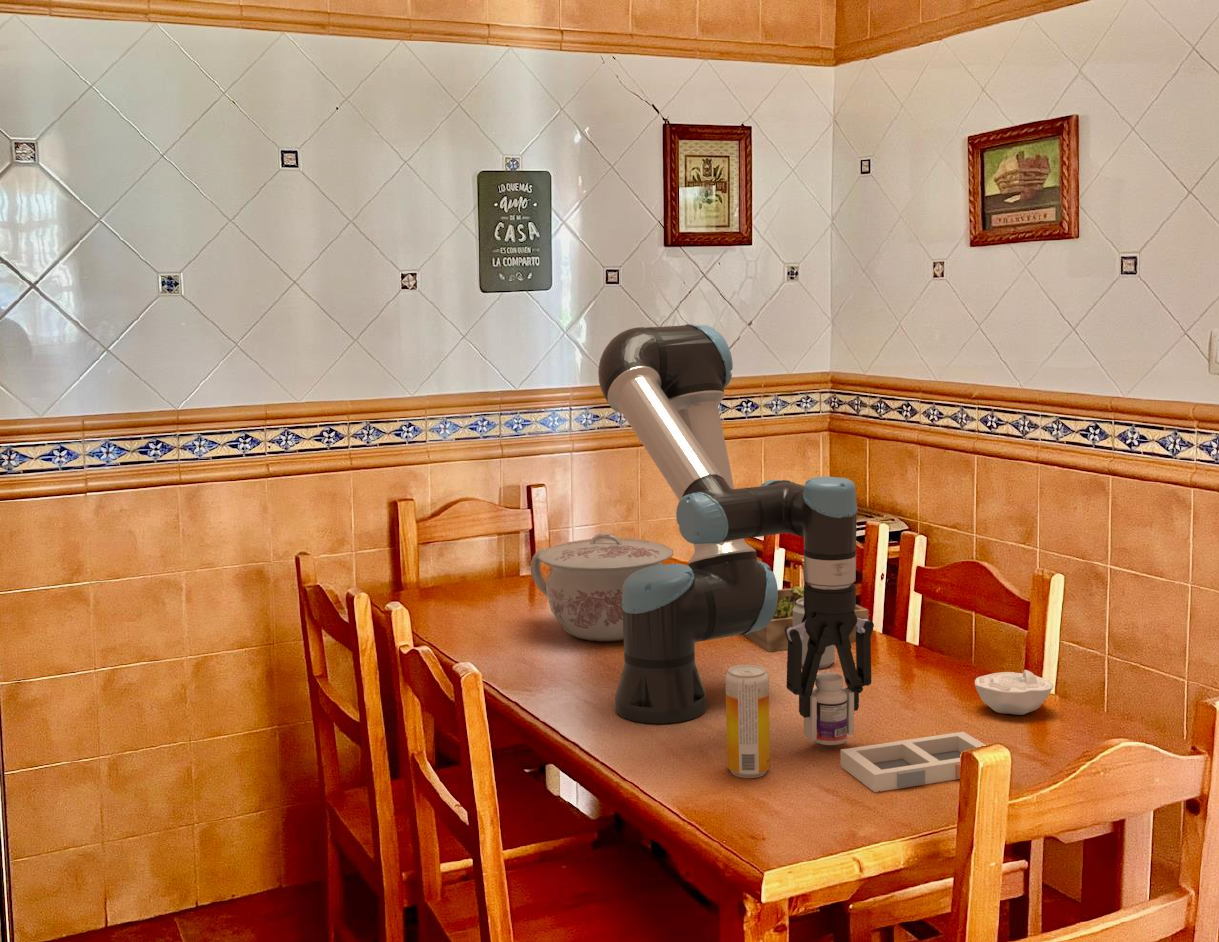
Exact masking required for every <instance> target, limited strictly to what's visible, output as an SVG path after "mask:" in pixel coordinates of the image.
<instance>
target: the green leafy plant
mask: <svg viewBox="0 0 1219 942" xmlns="http://www.w3.org/2000/svg"><path fill="white" fill-rule="evenodd" d="M801 587H802V588H801ZM790 588H791V592H792V594H793V596H790V597H789V596H787V597H785V598H784V599H783V598H781V600H780V601H779V602H778V604H777V607H776V611H775V613H774V615H773V619H780V618H789V617H793V608H794V607H795V606H796V604H797V603H796V601H797V600H798V599H800V598H804V586H799V585H798V586H797V585H795V586H793V587H790Z"/></svg>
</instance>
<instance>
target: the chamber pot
mask: <svg viewBox="0 0 1219 942" xmlns="http://www.w3.org/2000/svg"><path fill="white" fill-rule="evenodd" d="M673 556H674V549H672V548H671V547H670V546H668V545H666V544H662V543H659V542H655V541H652V540H648V539H647V540H646V539H639V538H627V537H626V538H625V537H624V538H623V537H617V536H615V535H614V534H611V533H606V532H605V533H598V534H595V535H594V536H593V537H592V538H588V539H580V540H574V541H567V542H564V543H559V544H557V545H554V546H551V547H548V548H546V547H543V548H540V549H539V550H538V551H536V552H535V553H534V554H533V556H532V559H531V561H530V574H531V578H532V580H533V582H534V583H535V585H536V586H537V587H538V589H539V591H540V592H541V593H543V594H544V595H545V596H546V597H547V599H548V600H547V601H548V603H549V607H550V611H551V613H552V614H553V615H554V617H555V618H556V620H557V621H558V623H559V624H560V626H561V627H562V629H563V630H564V631H565V632H566V633H567V634H568V635H570V636H572V637H575V638H578V639H581V640H584V641H589V642H596V643H611V642H612V643H614V642H624V636H623V609H622V606H621V603H622V593H623V584H624V581H625V580H626V579H627V578H628V576H629V575H631V574H632V573H634V572H636V571H638V570H640V569H643V568H646V567H650V566H655V565H661V564H663V563H664V562H666V561H667V560H669V559H670V558H672V557H673ZM541 562H542V563H543V564H544V565H547V566H550V568H551V569H550V570H549V573H548V574H547V576H546V580H545V578H544V577H543V573H542V571H541Z"/></svg>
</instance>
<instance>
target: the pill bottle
mask: <svg viewBox="0 0 1219 942" xmlns="http://www.w3.org/2000/svg"><path fill="white" fill-rule="evenodd" d="M843 678H844V677H843V676H842V675H841V674H838V673H835V672H822V673H817V676H816V680H815V684H814V685H815V687H816V688H813V692H812V694H813V695H814V696H815V697H817V739H816V740H812V741H814V743H817V744H819V745H825V746H835V745H840V744H841V745H842V744H844V743H845V742H846V740H847V739H848V734H847V694H846V692H845V691H844V690H843V689H841V688H842V687H844V686H843V685H844V682H843V681H844V680H843Z"/></svg>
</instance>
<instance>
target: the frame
mask: <svg viewBox="0 0 1219 942" xmlns="http://www.w3.org/2000/svg"><path fill="white" fill-rule="evenodd" d="M800 587H801V588H802V586H800ZM791 588H792V587H790V588H783V589H782V588H781V589H778V601H777V604H778V602H779V601H780V600H781V598H783V599H784V598H785V597H787V596H789V597H790V596H793V594H792V592H791ZM854 611H855V614H856V616H857V618H860V619H861V618H866V619H868V620H869V613H870V611H869V609H868V608H866V607H863V606H861V605H859V604H856V607H855V610H854ZM869 621H870V620H869ZM787 626H791V627H793V617H789V618H780V619H773V618H772V620H771V621H770V623H769V624H768V625H767V626H766V627H765V628H763V629H761V630H758V631H754V632H750V633H748V634H746V635H743V636H744V637H745V638H747V639H748V640H750V641H751V642H753V643H755V644H757V646H759V647H760V648H763V649H764V650H765V651H767V652H768V653H772V652H773V653H774V652H781V651H788V640H787V637H786V634H785V627H787ZM849 639H850V643H853V642H854V643H856V630H855V627H854V629H853V630H852V632H851V633H850V635H849Z"/></svg>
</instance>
